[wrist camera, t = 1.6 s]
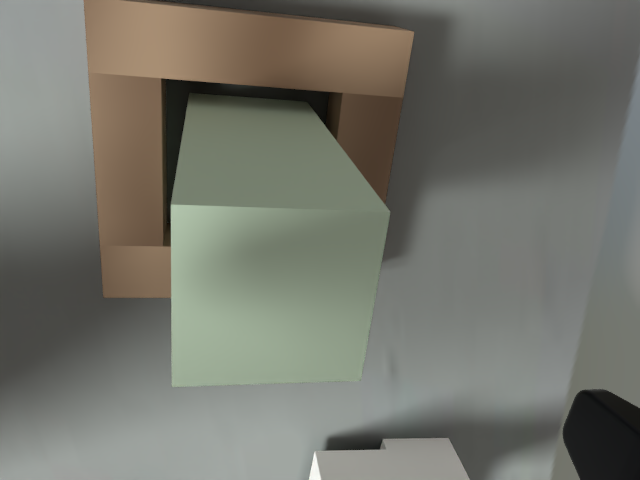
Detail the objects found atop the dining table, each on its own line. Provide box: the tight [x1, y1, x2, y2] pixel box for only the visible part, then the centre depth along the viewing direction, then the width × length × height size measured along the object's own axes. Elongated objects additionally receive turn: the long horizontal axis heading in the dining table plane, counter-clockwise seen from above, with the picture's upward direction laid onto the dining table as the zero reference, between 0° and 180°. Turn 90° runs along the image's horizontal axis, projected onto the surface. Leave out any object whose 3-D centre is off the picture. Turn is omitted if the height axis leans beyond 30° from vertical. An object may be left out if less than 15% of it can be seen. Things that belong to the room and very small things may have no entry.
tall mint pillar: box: [171, 93, 390, 387], centre depth 15 cm, size 4×4×10 cm
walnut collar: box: [84, 0, 414, 298], centre depth 19 cm, size 10×10×2 cm
